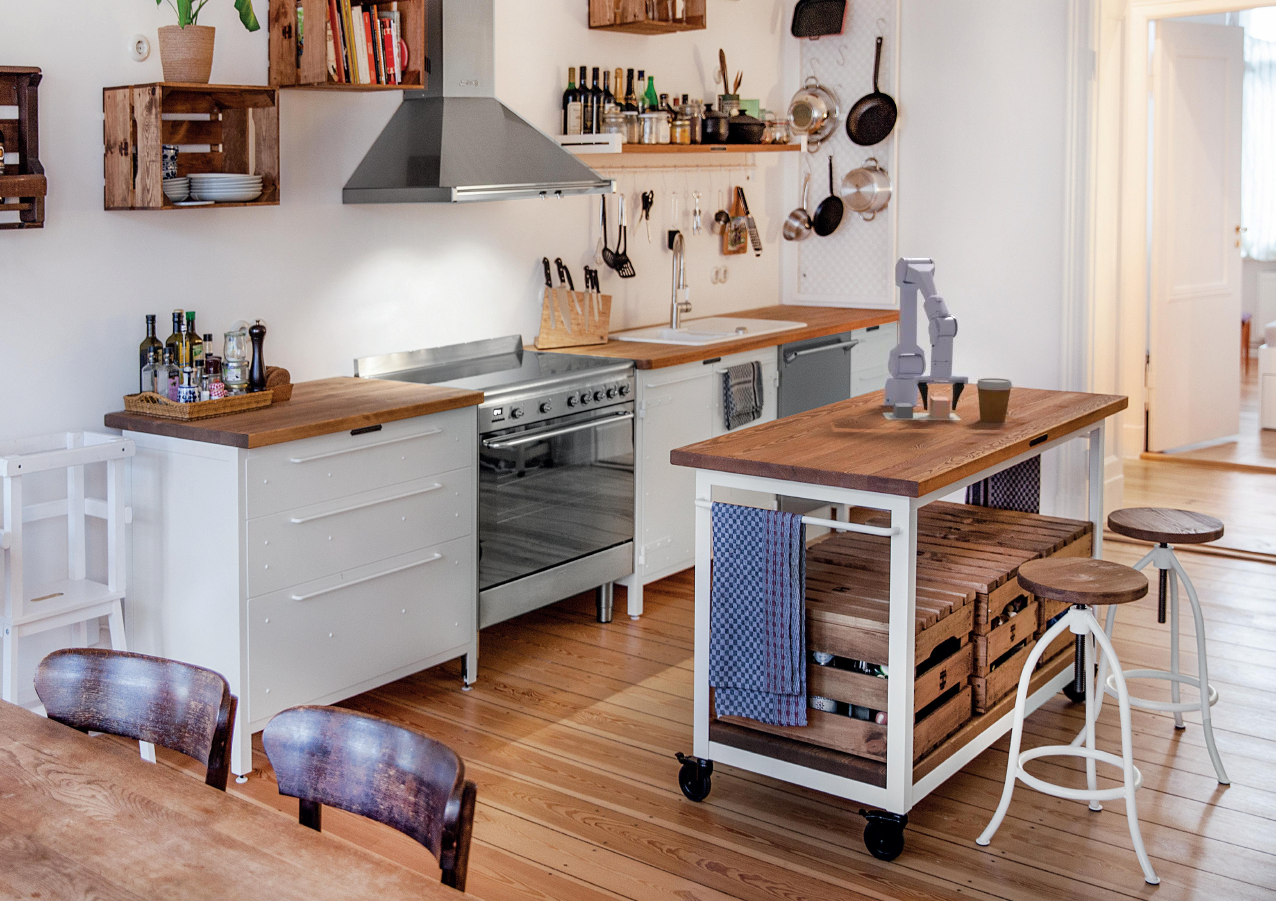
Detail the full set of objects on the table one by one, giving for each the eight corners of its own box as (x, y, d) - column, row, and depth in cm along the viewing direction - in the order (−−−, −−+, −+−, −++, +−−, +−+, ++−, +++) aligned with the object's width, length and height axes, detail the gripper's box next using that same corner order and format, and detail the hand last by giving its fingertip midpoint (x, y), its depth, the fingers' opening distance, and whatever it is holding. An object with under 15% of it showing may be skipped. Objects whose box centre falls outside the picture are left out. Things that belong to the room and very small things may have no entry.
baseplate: (886, 422, 343) (887, 419, 343) (882, 416, 355) (882, 412, 355) (961, 423, 341) (961, 420, 341) (953, 416, 353) (954, 413, 353)
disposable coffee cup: (1004, 428, 335) (1007, 383, 332) (969, 424, 340) (971, 381, 337) (1014, 423, 343) (1017, 379, 340) (980, 420, 348) (982, 377, 345)
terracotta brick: (932, 418, 344) (933, 400, 343) (929, 414, 351) (929, 396, 350) (949, 418, 344) (950, 400, 343) (945, 414, 351) (946, 396, 350)
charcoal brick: (896, 418, 345) (896, 406, 344) (893, 414, 352) (893, 402, 351) (912, 418, 345) (913, 406, 344) (909, 414, 352) (910, 402, 351)
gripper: (916, 362, 341) (914, 411, 344) (971, 362, 340) (968, 412, 343) (913, 359, 348) (911, 407, 351) (966, 359, 347) (964, 408, 350)
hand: (939, 409), depth 347 cm, fingers open, 7 cm apart
